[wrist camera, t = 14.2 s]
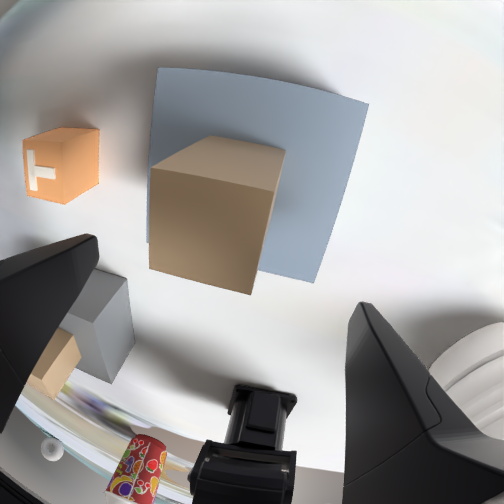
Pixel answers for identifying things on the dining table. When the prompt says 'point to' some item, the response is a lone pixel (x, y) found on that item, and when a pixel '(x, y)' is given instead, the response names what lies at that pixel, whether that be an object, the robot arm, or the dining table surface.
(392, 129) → the dining table surface
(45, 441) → the donut
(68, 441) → the dining table surface
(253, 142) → the blue-grey and tan block
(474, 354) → the honey pot
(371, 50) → the dining table surface
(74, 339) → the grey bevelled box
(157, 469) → the smoothie
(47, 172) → the letter cube
